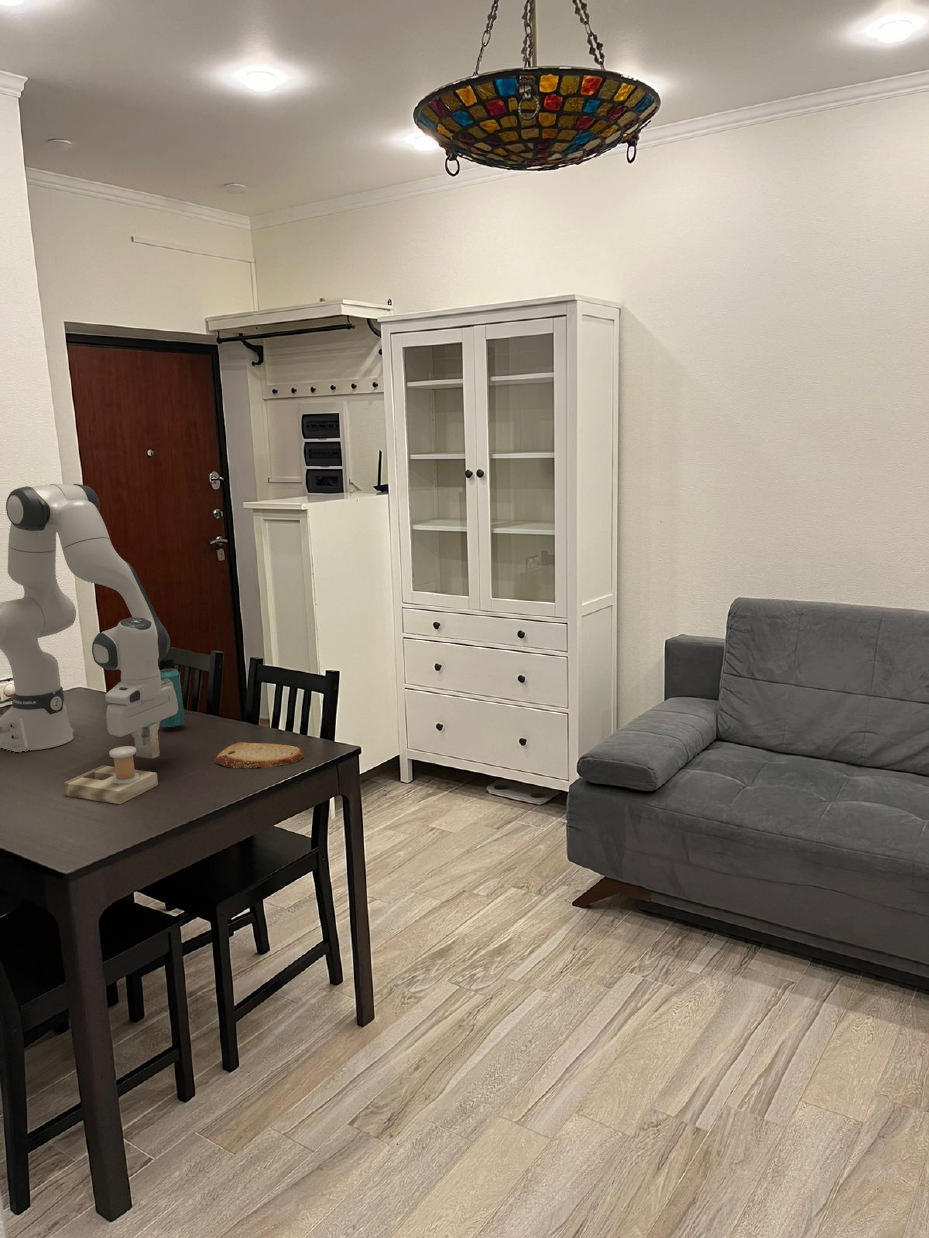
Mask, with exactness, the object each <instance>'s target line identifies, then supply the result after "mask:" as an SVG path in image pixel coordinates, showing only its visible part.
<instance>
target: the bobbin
mask: <svg viewBox="0 0 929 1238" xmlns="http://www.w3.org/2000/svg"><path fill="white" fill-rule="evenodd" d="M134 755H136V748H135V746H132V745H127V746H125V745H124V746H118V747H115V748H112V749H110V750H109V757H110V758H113V762H114V767H115V772H116V775H115V776H114V777H113V778H112V780H113V783H114V784H119V785H122V784H129V783H133V782H135V781H137V780H138V779H139V774H138V773H135V771H134V770H135V763H134Z"/></svg>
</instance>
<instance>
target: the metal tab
mask: <svg viewBox="0 0 929 1238" xmlns="http://www.w3.org/2000/svg"><path fill="white" fill-rule="evenodd" d="M141 730H142V732H141V733H140V735H141V736H142V738H145V742H146V744H145V745H144V746H141V747H138V746H136V743H135V742H134V747H135V748H136V753H135V757H140V758H145V759H151V760H153V759H155V758H157V757H160V755H161V754H160V746H159V745H160V744H159V732H158V731H159V729H157V723H153V724H151V725H148V726H146V727H144V728H142V729H141ZM133 739H134V738H133ZM134 741H135V739H134Z"/></svg>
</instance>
